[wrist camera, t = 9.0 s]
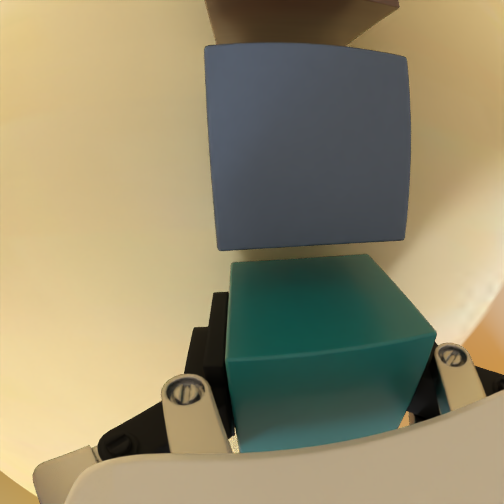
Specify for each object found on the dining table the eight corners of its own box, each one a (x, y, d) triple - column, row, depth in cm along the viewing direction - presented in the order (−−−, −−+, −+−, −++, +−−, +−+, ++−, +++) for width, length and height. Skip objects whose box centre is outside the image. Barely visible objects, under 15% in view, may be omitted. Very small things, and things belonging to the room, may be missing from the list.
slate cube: (218, 81, 10) (203, 44, 6) (345, 81, 10) (407, 56, 6) (226, 205, 12) (217, 252, 7) (347, 200, 12) (405, 241, 7)
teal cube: (240, 367, 12) (242, 467, 8) (230, 261, 11) (224, 360, 6) (352, 356, 12) (389, 445, 8) (368, 252, 11) (439, 332, 6)
